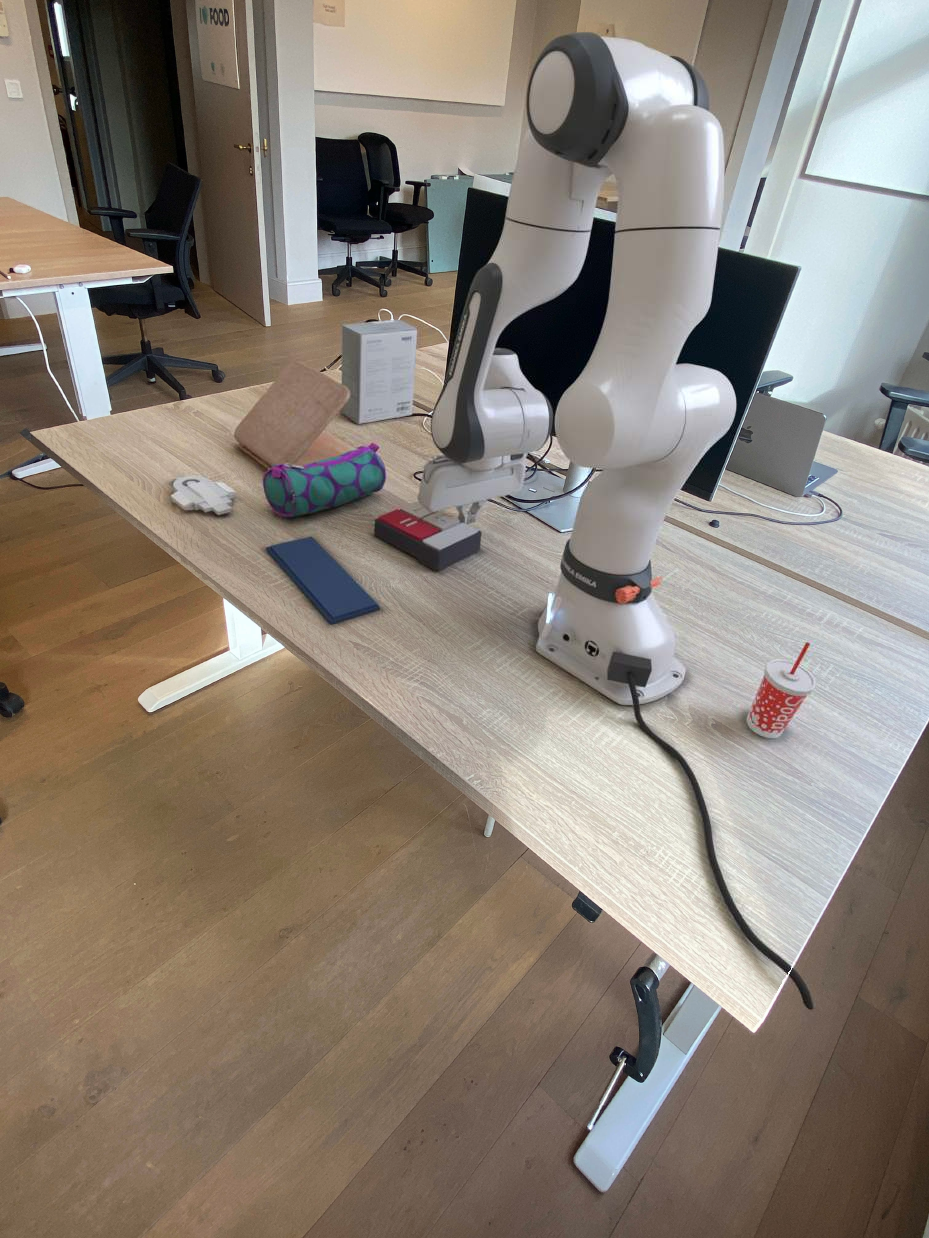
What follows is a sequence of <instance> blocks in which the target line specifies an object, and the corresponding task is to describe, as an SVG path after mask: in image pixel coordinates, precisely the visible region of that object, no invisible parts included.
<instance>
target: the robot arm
mask: <svg viewBox="0 0 929 1238" xmlns="http://www.w3.org/2000/svg"><path fill="white" fill-rule="evenodd" d="M527 84H528V85H527V90H526V100H525V101H526V103H525V104H526V105H525V107H526V118H527V123H528V127H529V129H528V130H527V131H526V133H525V135H524V138H523V140H522V144H521V145H520V150H519V153H518V156H517V160H516V164H515V167H514V171H513V175H512V178H511V179H512V180H511V183H510V188H509V193H508V199H507V202H506V203H507V204H506V211H505V217H504V223H503V228H502V231H501V236H500V238H499V240H498V243H497V246H496V248H495V250H494V251H493V254H492V255H491V257H490V259H489V260H488V262H487V263H486V264H485V265H484V266H483V267H481V268H480V269H478V271H477V272H476V273H475V275H474V277H473V279H472V282H471V284H470V287H469V289H468V294H467V297H466V300H465V304H464V307H463V312H462V314H461V318H460V322H459V325H458V330H457V333H456V338H455V341H454V345H453V347H452V348H453V349H452V352H451V357H450V361H449V364H448V368H447V372H446V376H445V379H444V383H443V386H442V388H441V391H440V393H439V396H438V397H437V399H436V402H435V404H434V408H433V410H432V413H431V420H430V434H431V438H432V441H433V444H434V446H435V447H436V448H437V449H438V451H439V452H440V453H441V454H436V455H433V456H432V457H431V459H429V460H428V461H427V462H426V463H425V464H424V466H423V470H422V471H423V472H422V475H421V476H422V477H421V480H420V485H419V489H418V495H417V501H419V502H420V504H421V505H422V506H423V507H424V508H425V509H427V510H428V511H430V512H436V511H444V510H449V509H453V508H456V510H457V512H458V518H457V519H459V520H460V522H462V523H465V524H467V525H470V524H474V523H477V522H478V517H479V514H481V511H482V510H483V509H484V507H485V505H486V502H487V501H488V500H493V499H497V498H502V497H505V496H511V495H514V494H515V495H516V494H518V493H519V491H520V490H521V489H523V485H524V482H525V476H526V469H527V468H526V467H527V462H526V458H527V457H528V454H529V453H532V452H537V451H540V450H541V449H542V448H543V447H544V446H545V445H546V443H547V442H548V440H549V438H550V435H551V433H552V428H553V423H554V432H555V437H556V439H557V443H558V446H559V448H560V449H561V451H562V453H563V455H564V456H565V457H566V458H567V459H568V460H569V461H570V462H571V463H573V464H574V465H576V466H578V467H581V468H587V469H597V470H598V469H599V470H602V471H601V472H599V474H598V475H597V476H595V477H594V478H593V479H592V480H591V481H589V483H588V484H587V485H586V487H585V488H584V490H583V491H582V493H581V495H580V498H579V502H578V506H577V510H576V514H575V518H574V522H573V526H572V530H571V535H570V537H569V539H567V541H566V543H565V545H564V550H563V553H562V556H561V560H560V566H559V568H560V574H559V578H558V580H557V583H556V586H555V587H554V590H553V593H549V594H548V599H547V604H546V605H547V606H546V607H545V609H544V611H543V613H542V614H541V615H540V617H539V618H538V621H537V632H538V639H537V642H536V644H535V650H536V652H537V653H538V654H539V655H540V656H543V657H544V658H546V659H547V660H549V661H550V662H552V663H554V664H555V665H557V666H558V667H560V668H561V669H563V670H564V671H565V672H567V673H569V674H571V675H572V676H574V677H575V678H577V679H579V680H580V681H581V682H583V683H585V684H586V685H588V686H590V687H591V688H593V690H595V691H597V692H599V693H600V694H602V695H603V696H605V697H607V698H608V699H610V700H612V701H613V702H615V703H617V704H618V705H623V706H633V714H634V718H635V721H636V722H637V725H638V726H639V728H640V729H641V730H642V731H643V732H644V733H645V734H646V735H647V736H648V737H649V738H650V739H651V740H653V742H655V743H656V744H658V746H660V747H661V748H662V749H664V750H665V751H666V752H668V753H669V754H670V755H671V756H672V757H673V758H674V759H675V760H676V762H677V763H679V765H680V767H681V768H682V770H683V772H684V773H685V774H686V777H687V778H688V781H689V783H690V785H691V787H692V791H693V794H694V796H695V800H696V803H697V806H698V809H699V812H700V816H701V819H702V820H701V821H702V825H703V826H702V827H703V832H704V842H705V849H706V852H707V858H708V861H709V864H710V868H711V871H712V874H713V877H714V879H715V882H716V884H717V888H718V890H719V892H720V895H721V897H722V899H723V901H724V903H725V905H726V907H727V909H728V911H729V913H730V914H731V917H732V918H733V919H734V921H735V924H736V925H737V926H738V927H739V929H740V931H741V932H742V933H743V935H744V936H745V938H747V940H748V941H749V943H751V944H752V946H753V947H755V949H757V950H758V951H759V952H760V953H761V954H763V956H764V957H766V958H767V959H769V960H770V961H771V962H772V963H773V964H775V965H776V967H778V968H779V969H781V970H782V971H783V972H784V973H785V974H786V975H787V976H788V972H789V971H790V970H791V967H793V966H792V965H791V964H790V963H788V961H786V960H785V959H784V958H782V957H781V956H780V955H778V953H776V952H775V951H774V950H772V949H771V948H770V947H769V946H767V945H766V944H765V943H764V942H763V941H762V940H760V938H759V937H758V936H757V935H756V934H755V933H754V931H753V930H752V929H751V927H750V926H749V925H748V923H747V922H746V920H745V919H744V917H743V916H742V914H741V912H740V910H739V909H738V907H737V905H736V903H735V902H734V900H733V897H732V896H731V893H730V891H729V888H728V886H727V883H726V881H725V878H724V876H723V873H722V870H721V868H720V865H719V862H718V859H717V855H716V851H715V845H714V839H713V832H712V831H713V830H712V824H711V819H710V814H709V811H708V809H707V808H708V807H707V804H706V802H705V799H704V796H703V792H702V790H701V787H700V784H699V782H698V779H697V777H696V776H695V775H696V774H695V773H694V772H693V770H692V768H691V767H690V765H689V763H688V762H687V760H686V759H685V758H684V757H683V755H682V754H681V753H680V752H679V751H678V750H677V749H676V748H675V747H673V746H672V745H670V744H669V743H667V742H666V741H665V740H663V739H662V738H661V737H659V736H658V735H656V733H654V732H653V730H651V729H650V728H649V726H648V725H647V724H646V722H645V721H644V718H643V717H642V716H643V715H642V713H641V705H644V704H648V703H652V702H654V701H657V700H659V699H661V698H664V697H665V696H667V695H669V694H671V693H673V692H674V691H675V690H677V688H679V687H680V686H681V684H682V683H683V681H684V678H685V675H686V672H687V668H686V667H685V665H684V664H683V663H682V662H681V661H680V660H679V659H678V658H677V657H676V655H675V654H676V648H677V636H676V633H675V632H676V631H675V630H674V629H673V627H672V625H671V624H670V622H669V621H668V618H667V614H666V613H665V612H664V611H663V610H662V608H661V606H660V603H658V601H657V599H656V597H655V595H654V593H653V592H652V591H653V589H654V588H655V587H658V586H659V585H661V581H662V579H663V576H659V577H656V578H654V579H653V573H652V561H651V558H652V554H653V552H654V549H655V546H656V543H657V541H658V537H659V535H660V531H661V528H662V526H663V523H664V521H665V519H666V517H667V514H668V511H669V510H670V508H671V506H672V504H673V502H674V501H675V499H676V497H677V496H678V494H679V493H680V491H681V489H682V488H683V487H684V485H685V483H686V481H687V480H688V478H689V477H690V476H691V474H692V473H693V471H694V469H695V468H696V466H698V464H699V462H700V461H701V459H702V458H703V457H704V456H705V454H706V453H707V452H708V451H710V448H712V447H713V446H715V444H716V443H717V442H718V441H719V440H720V439H722V438H723V437H724V436H725V435H726V434H727V433H728V431H729V430H730V428H731V426H732V425H733V422H734V419H735V416H736V412H737V397H736V393H735V390H734V387H733V385H732V383H731V381H730V380H729V379H728V377H727V376H726V375H724V374H723V373H722V372H721V371H719V370H717V369H714V368H711V367H706V366H702V365H697V364H693V363H678V364H677V362H678V359H679V357H680V354H681V352H682V349H683V347H684V344H685V343H686V341H687V339H688V337H689V336H690V334H691V333H692V331H693V330H694V329H695V328H696V326H697V325H699V324H700V322H702V320H703V319H704V318H705V317H706V315H707V313H708V312H709V309H710V307H711V303H712V297H713V290H714V283H715V282H714V281H715V276H716V275H715V274H716V268H717V261H718V251H719V245H720V236H721V228H722V220H723V212H724V211H723V210H724V199H725V197H724V196H725V143H724V142H725V141H724V139H725V138H724V131H723V128H722V125H721V123H720V122H719V120H718V118H717V117H716V116H715V115H714V114H713V113H712V112H711V111H709V110H710V96H709V95H710V94H709V91H708V86H707V84H706V81H705V79H704V77H703V76H702V74H701V73H700V72H699V71H698V70H697V68H695V67H694V66H693V65H692V64H690V63H689V62H688V61H686V60H685V59H684V58H681V57H680V56H675V55H668V54H665V53H663V52H661V51H659V50H657V49H654V48H652V47H649V46H646V45H645V44H643V43H642V42H639V41H637V40H631V39H626V38H622V37H621V38H620V37H613V36H599V35H598V34H597V33H594V32H591V31H580V32H570V33H566V34H563V35H559V36H557V37H555V38H554V39H553V40H551V41H550V42H548V43H547V45H546V46H545V47H544V48H543V49H542V51H541V52H540V54H539V55H538V57H537V58H536V61H535V63H534V65H533V67H532V70H531V73H530V77H529V80H528V83H527ZM612 175H613V176H614V177H615V180H616V184H617V208H616V216H615V217H616V218H615V227H614V232H615V233H614V241H613V251H612V252H613V253H612V264H611V273H610V274H611V275H610V284H609V292H608V301H607V307H606V313H605V316H604V320H603V324H602V327H601V330H600V333H599V336H598V339H597V341H596V343H595V346H594V348H593V351H592V353H591V355H590V357H589V359H588V361H587V363H586V365H585V366H584V368H583V370H582V371H581V373H580V374H579V375H578V377H577V378H576V380H574V382H573V383H572V384H571V385H570V386H569V387H568V388H567V389H566V390H565V391H564V392H563V394H562V396H561V397H560V399H559V401H558V403H557V406H556V409H555V415H554V411H553V407H552V404H551V402H550V401H549V399H548V398H547V396H546V395H545V394H544V393H543V392H542V391H541V390H539V389H538V388H535V387H534V386H533V384H531V382H529V380H528V379H527V377H526V376H525V375H524V374H523V372H522V370H521V367H520V362H519V357H518V355H517V354H516V352H514V351H512V350H511V349H508V348H504V347H496V345H497V342H498V339H499V337H500V335H501V334H502V332H503V331H504V330H505V328H506V327H507V326H508V325H509V324H511V322H513V320H515V319H517V318H518V317H520V316H521V315H523V314H524V313H526V312H528V311H530V310H532V309H534V308H536V307H538V306H540V305H543V304H545V303H547V302H549V301H552V300H554V299H556V298H557V297H559V296H560V295H562V294H563V293H564V292H565V291H567V290H568V289H569V287H571V286H572V285H573V284H574V283H575V281H576V280H577V279H578V277H579V275H580V273H581V271H582V269H583V266H584V264H585V260H586V256H587V254H588V248H589V244H590V243H589V242H590V239H591V232H592V228H593V222H594V217H595V211H596V206H597V201H598V200H597V199H598V197H599V193H600V191H601V188H602V186H603V185H604V183H605V182H606V180H607V179H608V178H610V177H611V176H612ZM470 504H471V506H470ZM788 977H789V978H790V980H791V981H792V982H793V983H794V985H795V986H796V988H797V990H798V992H799V994H800V996H801V999H802V1003H803V1005H804V1006H805V1008H806V1009H807V1010H809V1011H813V1010H814V1003H813V998H812V996H811V992H810V990H809V988H808V986H807V984H806V982H805V980H804V979H803V977H802V976H801V975H800V974H799V972H798V971H796V969H795V968H794V967H793V968H792V970H791V972H790V974H789V976H788Z"/></svg>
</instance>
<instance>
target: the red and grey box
mask: <svg viewBox="0 0 929 1238" xmlns="http://www.w3.org/2000/svg"><path fill="white" fill-rule="evenodd" d="M373 532H374V536H375V537H377V538H379V539H380V540H382V541H385V542H387V543H388V544H390V545H392V546H394V547H396V548H398V549H400V550H402V551H404V552H406V553H407V554H410V555H411V556H412V557H415V558H416V559H417V560H418V561H419V563H420V564H421V565H424V566H425V567H428V568H430V569H432V570H434V571H436V572H439V571H441V570H444V569H446V568H448V567H449V566H452V565H453V564H455V563H458V562H460V561H461V560H463V559H465V558H467V557H470V556H471V555H474V554H476V553H477V552H479V551H480V549H481V542H482V531H481V530H479V529H478V528H476V527H473V526H471V525H470V524H465V523H462V522H460V520H459V519H458V518H456V517H455V516H452V515H450V514H448V513H446V512H444V511H443V510H440V511H436V512H430V511H428V510H427V509H425V508H424V507H423V506H422V505H421V504H420V502H419V501H418V500H417V501H414V502H412V503H410V504H407V505H405V506H402V507H400V509H397V508H396V509H394V510H392V511H389V512H386V513H384V514H382V515H379V516H378V517H377V518H374V530H373Z"/></svg>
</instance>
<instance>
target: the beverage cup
mask: <svg viewBox="0 0 929 1238" xmlns="http://www.w3.org/2000/svg"><path fill="white" fill-rule="evenodd" d="M810 645H811V643H810V642H809V641H807V642H805V643H804V645H803V648H802V649H801V651H800V653H799V654H798V657H797V659H795V660H796V661H791V660H789V659H783V658H776V659H772V660H770V661H768V662H767V663H766V664H765V668H764V670H763V671H764V672H763V677H762V679H761V682H760V684H759V687H758V689H757V691H756V694H755V696H754V699H753V701H752V703H751V707H750V709H749V711H748V714H747V716H746V724H747V726H748V728H749V729H750V730H751V731H752V732H754V733H755V734H757V735H759V736H760V737H763V738H765V739H776V738H779V737H780V736H781V735H782V734H783V732H784V731H785V729H786V728H787V726H788V725H789V723H790V722H791V720H792V719H793V717H794V716H795V714H796V713H797V712H798V710H799V709H800V707H801V706H802V704H803V702H804V701H805V700H806V698H807V697H808V696H810V695H811V694H812V692H814V690H815V689H816V687H817V679H816V677H815V676H814V674H813V673H812V672H811V671H809V669H807V668H806V667H805V666H803V665H800V664H801V662H802V660H803V659H804V656H805V655H806V653H807V651H808V649H809V647H810Z"/></svg>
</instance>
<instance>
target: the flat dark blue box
mask: <svg viewBox="0 0 929 1238" xmlns="http://www.w3.org/2000/svg"><path fill="white" fill-rule="evenodd" d="M265 551H266V552H267V553H268V554H269V555H270V556H271V558H272V560H274V561H275V562H276V564H278V566H279V567H280V568H281V569H282V571H284V573H285V574H286V575H287V576H288V577H289V578H290V580H291V581H292V582H293V583H294V585H295V586H296V587H297V588H298V589H299V590H300V591H301V592H302V593H303V594H304V596H305V597H306V598H307V599H308V600H309V602H310V603H311V605H313V606H314V607H315V608H316V609H317V611H318V612H319V613H320V614H321V615H322V616H323V617H324V619H325V620H326V621H327V622H328V624H329V625H333V624H337V623H341V622H343V621H346V620H349V619H353V618H357V617H360V616H363V615H366V614H369V613H373V612H375V611H376V612H377V611H379V610H380V608H381V607H380V605H379V604H378V603H377V602H376V601H375V599H373V598H372V597H371V596H370V594H369V593H367V591H365V590H364V588H363V587H361V585H360V584H359V583H358V582H357V581H356V580H355V579H354V578H353V577H352V576H351V575H350V574H349V573H348V572H347V571H346V570H345V569H344V568H343V567H342V566H341V565H340V564H339V563H338V562H337V561H336V560H335V558H334V557H332V556H331V554H330V553H328V551H327V550H326V549H325V548H324V547H323V546H322V545H320V543H319V542H318V541H317V540H316V539H315V538H314V537H313V536H307V537H302V538H298V539H294V540H290V541H284V542H280V543H276V544H271V545H269V546H267V547H265Z"/></svg>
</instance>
